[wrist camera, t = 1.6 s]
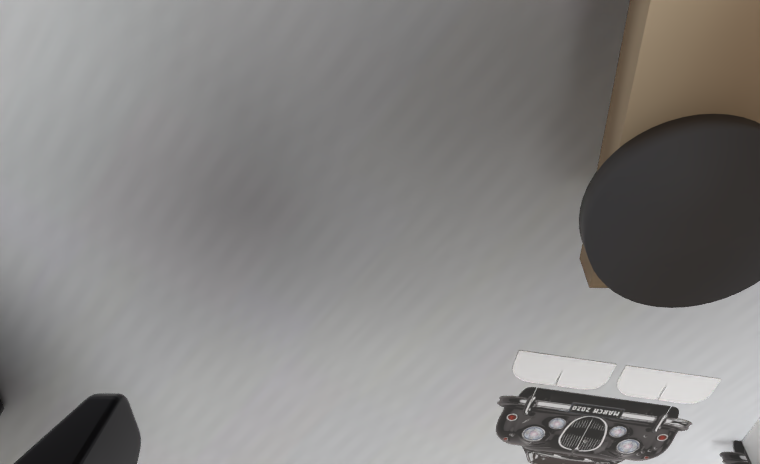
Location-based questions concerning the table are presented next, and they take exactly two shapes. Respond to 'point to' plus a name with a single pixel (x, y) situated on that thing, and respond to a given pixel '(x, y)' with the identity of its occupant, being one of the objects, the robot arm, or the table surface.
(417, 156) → the table surface
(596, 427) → the car cutout
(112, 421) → the robot arm
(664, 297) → the lever
